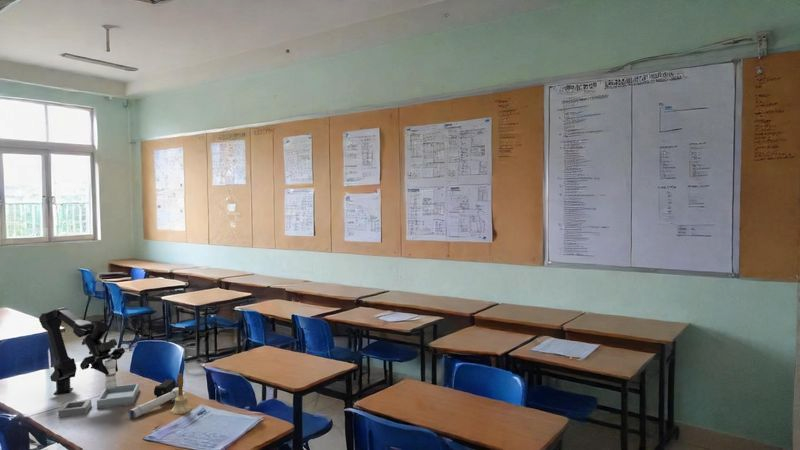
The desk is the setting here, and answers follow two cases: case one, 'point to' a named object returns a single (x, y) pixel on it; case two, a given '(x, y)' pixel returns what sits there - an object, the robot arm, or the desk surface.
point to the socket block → (74, 408)
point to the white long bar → (154, 403)
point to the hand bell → (180, 399)
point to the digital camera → (164, 388)
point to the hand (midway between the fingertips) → (112, 372)
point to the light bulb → (110, 374)
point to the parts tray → (118, 396)
